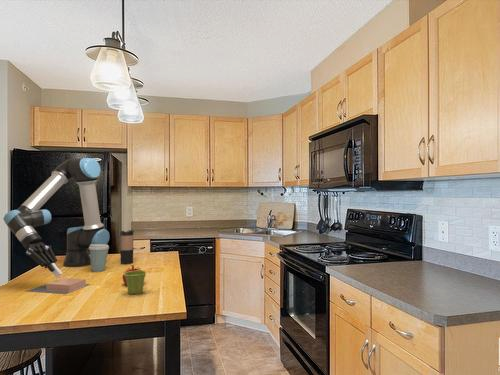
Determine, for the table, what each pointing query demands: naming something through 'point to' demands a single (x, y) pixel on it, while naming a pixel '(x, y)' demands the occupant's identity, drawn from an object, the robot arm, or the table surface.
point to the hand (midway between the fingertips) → (59, 275)
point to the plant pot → (135, 281)
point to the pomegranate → (129, 271)
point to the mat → (43, 290)
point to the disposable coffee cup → (98, 256)
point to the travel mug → (126, 247)
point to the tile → (65, 285)
